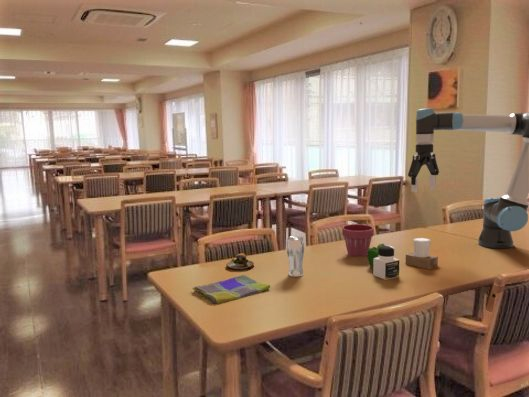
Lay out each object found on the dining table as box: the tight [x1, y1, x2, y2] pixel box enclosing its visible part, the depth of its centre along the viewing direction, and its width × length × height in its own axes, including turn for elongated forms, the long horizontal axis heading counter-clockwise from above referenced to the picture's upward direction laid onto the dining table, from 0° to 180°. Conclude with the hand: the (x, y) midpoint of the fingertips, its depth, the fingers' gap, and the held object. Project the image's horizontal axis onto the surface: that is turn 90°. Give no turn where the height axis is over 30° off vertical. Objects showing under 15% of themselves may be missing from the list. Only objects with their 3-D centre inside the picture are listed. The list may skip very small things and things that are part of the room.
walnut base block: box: [405, 251, 439, 270], centre depth 191 cm, size 6×11×4 cm, turn 37°
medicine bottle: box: [372, 244, 400, 281], centre depth 177 cm, size 7×7×12 cm
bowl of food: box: [226, 249, 255, 270], centre depth 195 cm, size 12×12×8 cm
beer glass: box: [286, 236, 305, 278], centre depth 182 cm, size 7×7×15 cm
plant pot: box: [341, 223, 375, 258], centre depth 209 cm, size 14×14×13 cm
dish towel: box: [192, 274, 271, 305], centre depth 166 cm, size 18×24×3 cm
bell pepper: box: [367, 243, 385, 268], centre depth 189 cm, size 8×8×10 cm
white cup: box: [412, 237, 431, 257], centre depth 190 cm, size 7×7×7 cm
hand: (423, 190), depth 207 cm, fingers open, 13 cm apart
